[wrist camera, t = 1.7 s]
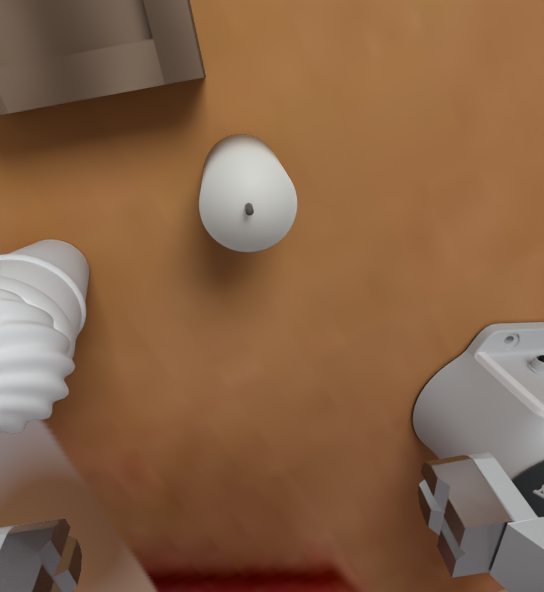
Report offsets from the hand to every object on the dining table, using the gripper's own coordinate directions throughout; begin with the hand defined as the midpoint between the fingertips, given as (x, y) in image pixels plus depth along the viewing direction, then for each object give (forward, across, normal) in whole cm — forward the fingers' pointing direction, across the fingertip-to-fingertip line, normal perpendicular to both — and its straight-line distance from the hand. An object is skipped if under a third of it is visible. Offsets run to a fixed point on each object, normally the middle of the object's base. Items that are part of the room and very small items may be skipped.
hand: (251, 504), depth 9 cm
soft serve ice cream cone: (+22, +12, +3) cm, 26 cm away
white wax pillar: (+22, -1, -2) cm, 22 cm away
